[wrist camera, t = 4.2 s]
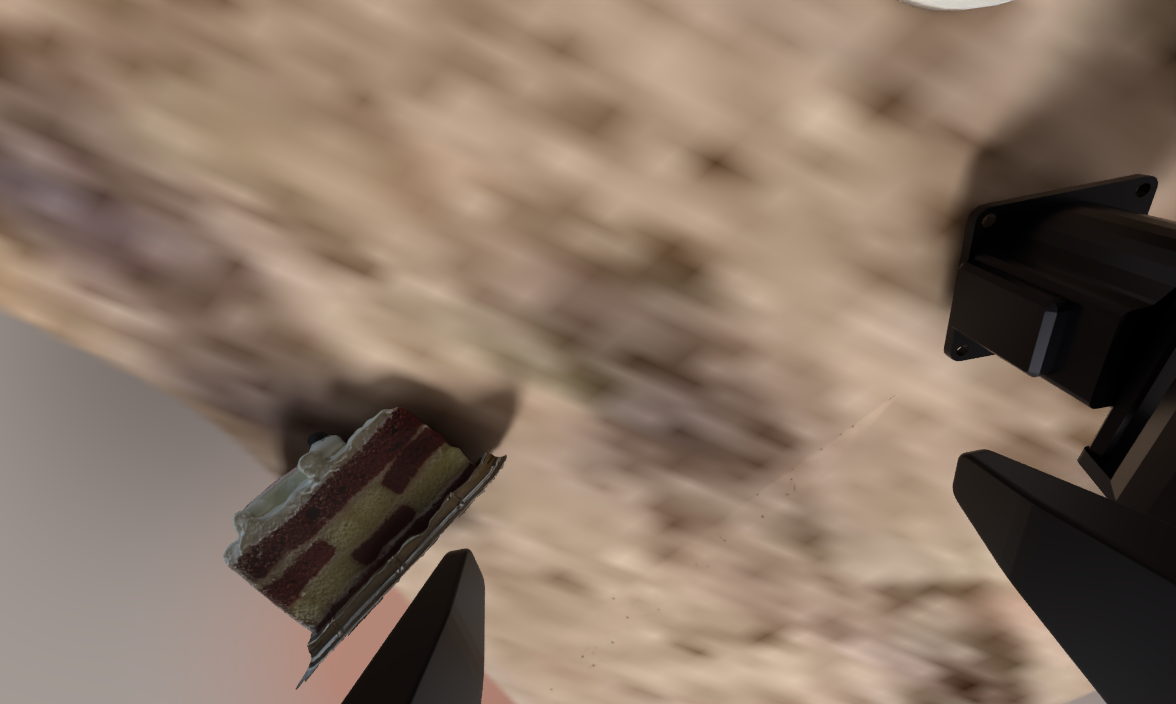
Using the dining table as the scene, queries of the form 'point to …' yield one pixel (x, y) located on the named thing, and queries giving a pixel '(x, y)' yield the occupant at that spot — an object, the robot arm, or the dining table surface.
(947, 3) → the white round plate
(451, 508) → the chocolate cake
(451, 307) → the dining table surface
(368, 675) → the robot arm
